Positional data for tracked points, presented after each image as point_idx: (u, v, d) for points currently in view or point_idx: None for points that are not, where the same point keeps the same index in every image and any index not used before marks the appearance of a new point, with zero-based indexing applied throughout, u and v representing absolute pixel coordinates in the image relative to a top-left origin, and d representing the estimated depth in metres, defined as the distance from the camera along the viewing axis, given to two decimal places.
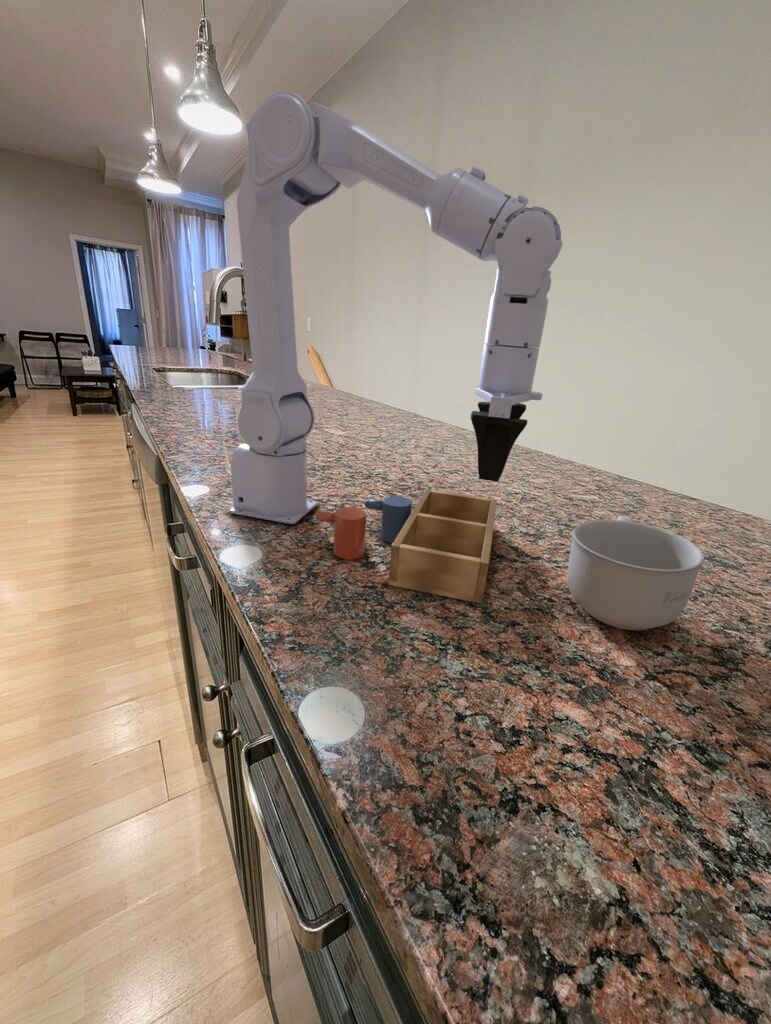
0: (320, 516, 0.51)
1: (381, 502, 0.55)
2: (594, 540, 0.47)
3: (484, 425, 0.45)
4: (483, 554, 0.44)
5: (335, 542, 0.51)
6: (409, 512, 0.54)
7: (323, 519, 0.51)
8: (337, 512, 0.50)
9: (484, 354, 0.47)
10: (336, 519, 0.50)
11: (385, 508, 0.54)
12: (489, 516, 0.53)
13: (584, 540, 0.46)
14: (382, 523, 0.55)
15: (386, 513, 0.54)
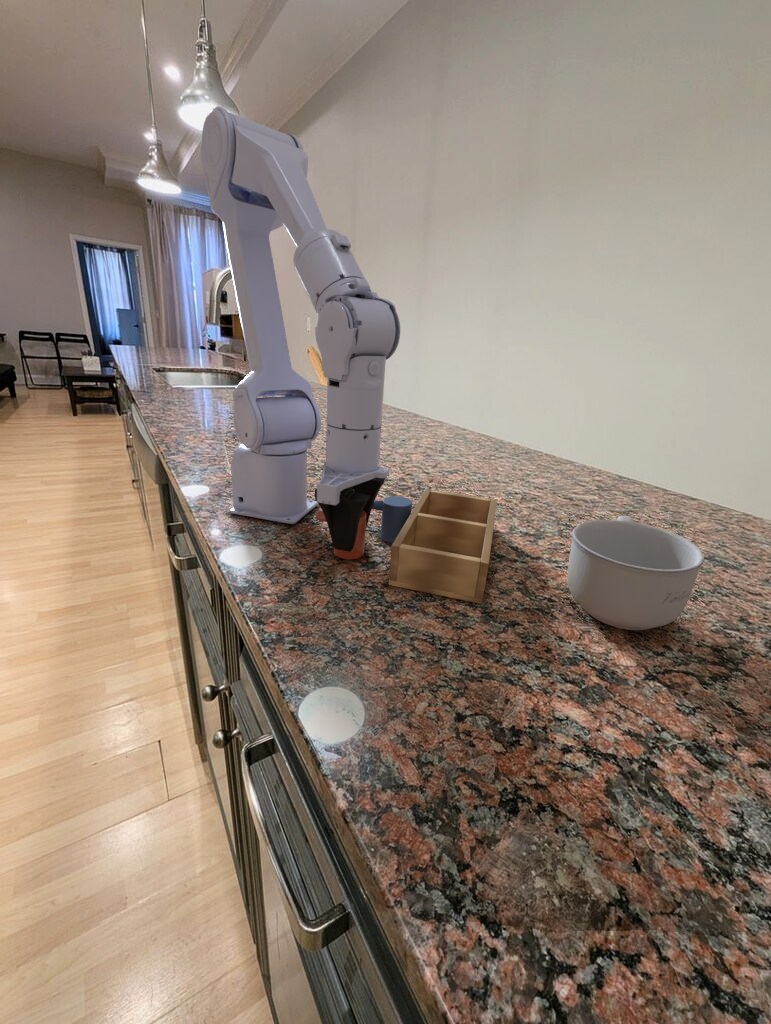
0: (320, 516, 0.51)
1: (381, 502, 0.55)
2: (594, 540, 0.47)
3: None
4: (483, 554, 0.44)
5: None
6: (409, 512, 0.54)
7: (323, 519, 0.51)
8: None
9: (326, 432, 0.46)
10: None
11: (385, 508, 0.54)
12: (489, 516, 0.53)
13: (584, 540, 0.46)
14: (382, 523, 0.55)
15: (386, 513, 0.54)
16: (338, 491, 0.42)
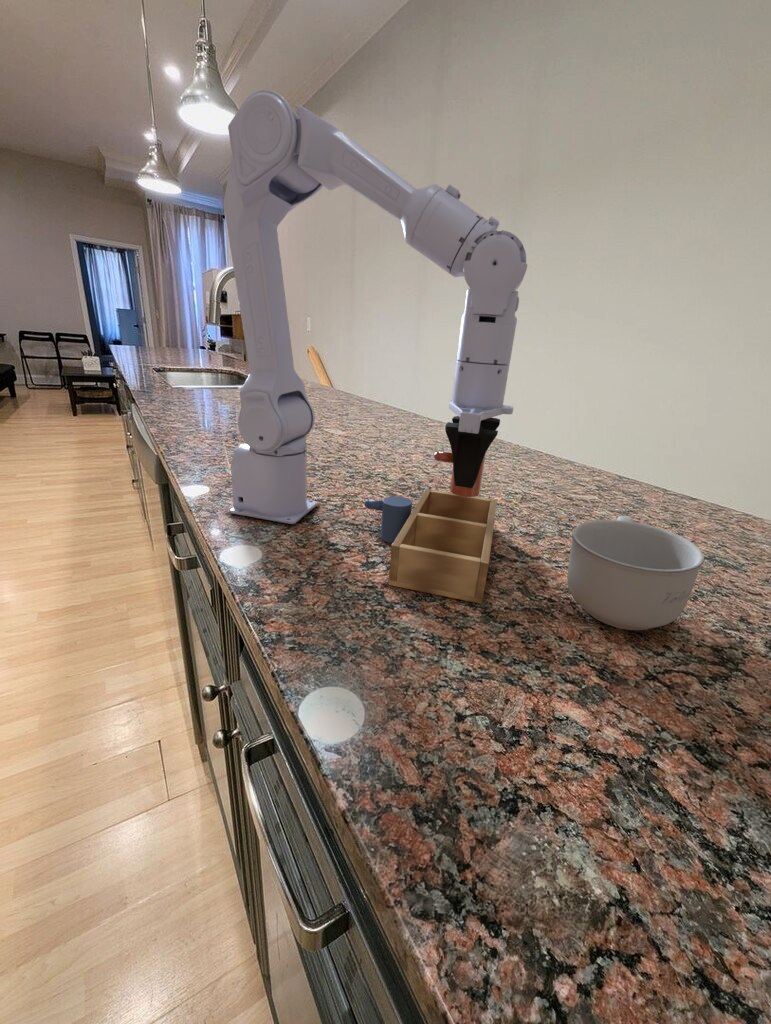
0: (440, 456, 0.53)
1: (381, 502, 0.55)
2: (594, 540, 0.47)
3: (457, 436, 0.48)
4: (483, 554, 0.44)
5: None
6: (409, 512, 0.54)
7: (443, 458, 0.53)
8: None
9: (456, 370, 0.48)
10: None
11: (385, 508, 0.54)
12: (489, 516, 0.53)
13: (584, 540, 0.46)
14: (382, 523, 0.55)
15: (386, 513, 0.54)
16: (480, 420, 0.44)
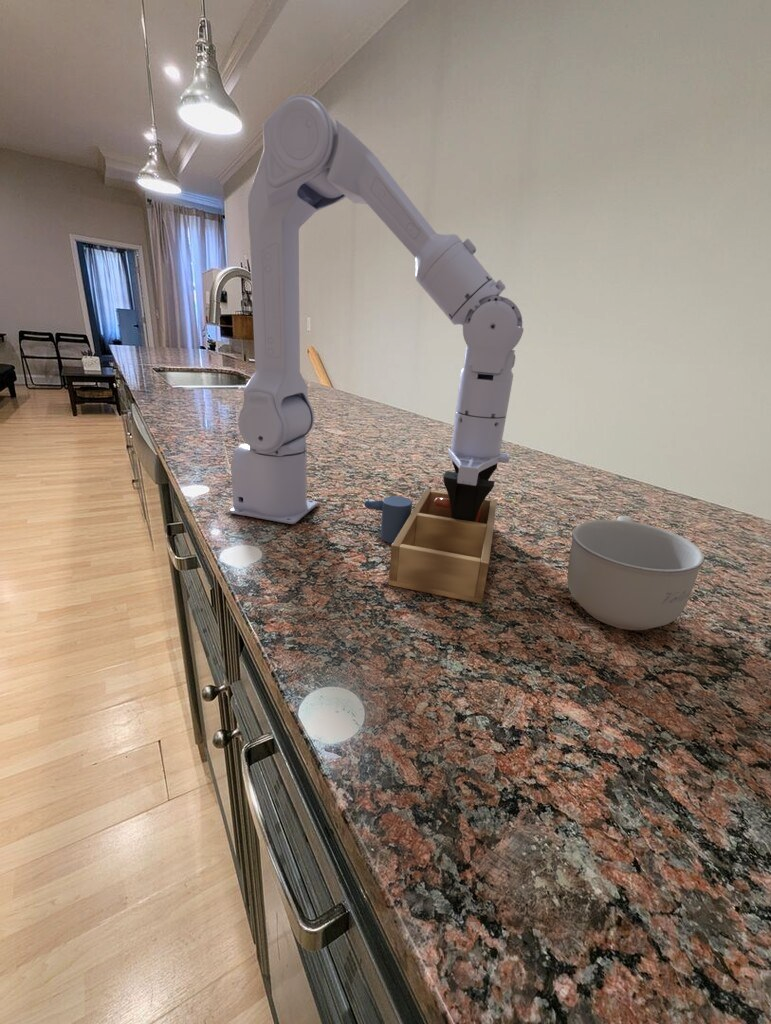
0: (439, 502, 0.55)
1: (381, 502, 0.55)
2: (594, 540, 0.47)
3: (455, 486, 0.49)
4: (483, 554, 0.44)
5: None
6: (409, 512, 0.54)
7: (442, 505, 0.55)
8: None
9: (455, 421, 0.51)
10: None
11: (385, 508, 0.54)
12: (489, 516, 0.53)
13: (584, 540, 0.46)
14: (382, 523, 0.55)
15: (386, 513, 0.54)
16: (478, 473, 0.46)
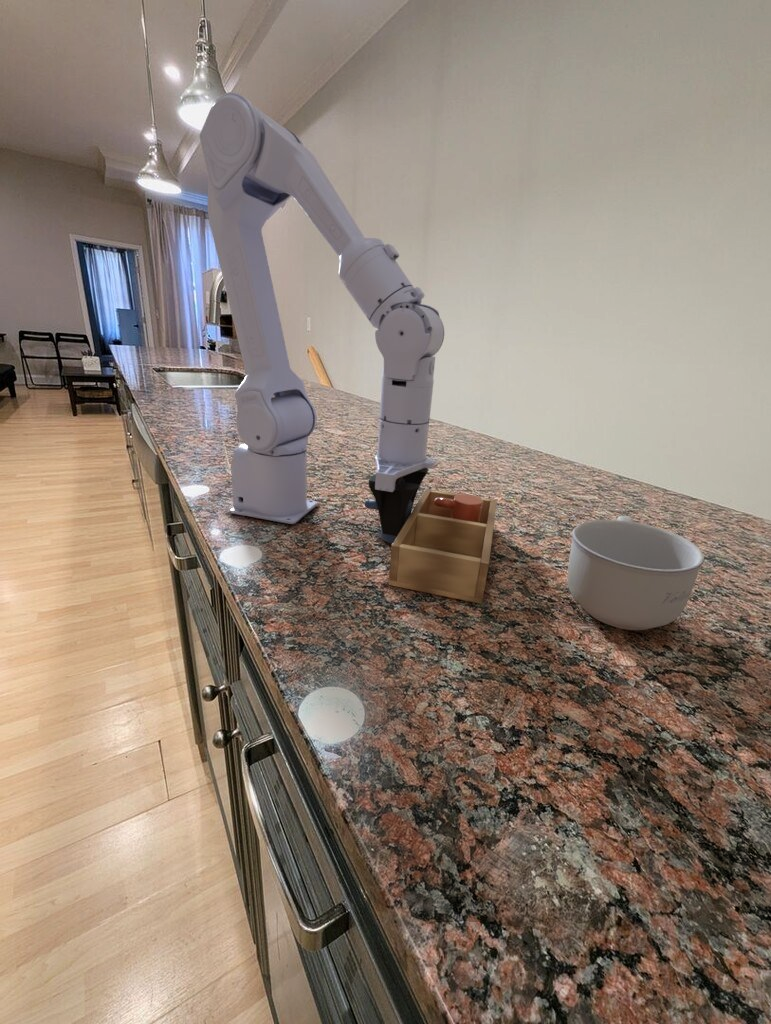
0: (439, 502, 0.55)
1: None
2: (594, 540, 0.47)
3: (379, 490, 0.50)
4: (483, 554, 0.44)
5: None
6: (409, 512, 0.54)
7: (442, 505, 0.55)
8: (457, 498, 0.55)
9: (379, 427, 0.51)
10: (456, 504, 0.54)
11: None
12: (489, 516, 0.53)
13: (584, 540, 0.46)
14: None
15: None
16: (395, 479, 0.47)
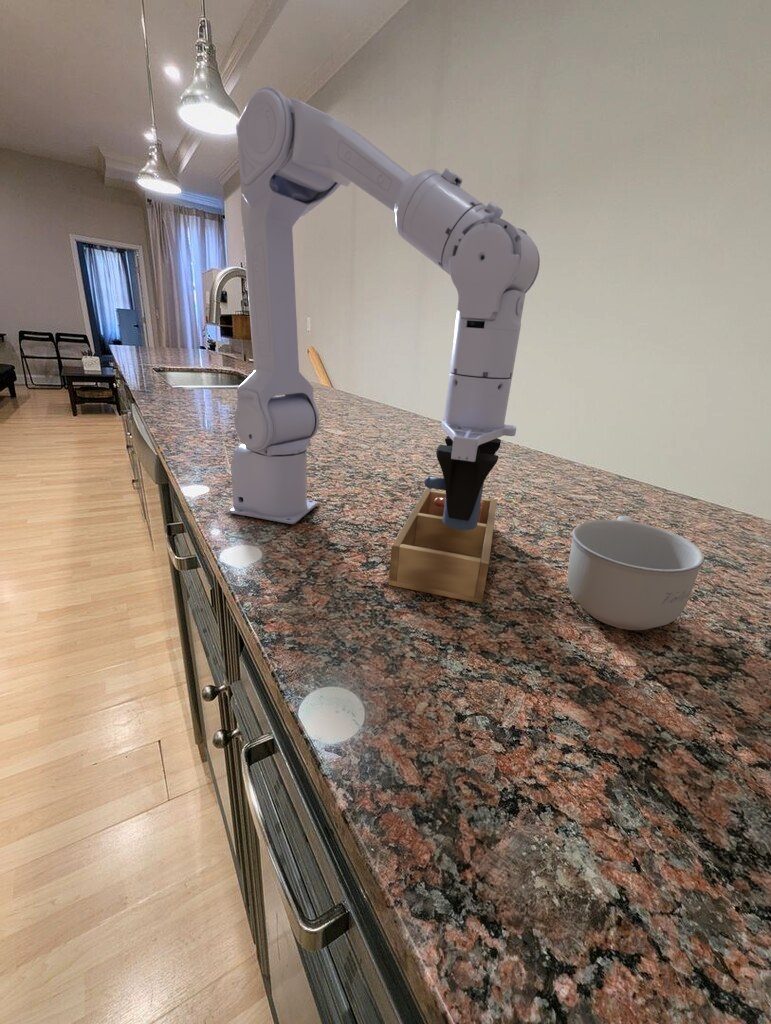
0: (439, 502, 0.55)
1: None
2: (594, 540, 0.47)
3: (450, 462, 0.41)
4: (483, 554, 0.44)
5: None
6: (481, 491, 0.45)
7: (442, 505, 0.55)
8: None
9: (449, 384, 0.41)
10: None
11: None
12: (489, 516, 0.53)
13: (584, 540, 0.46)
14: None
15: None
16: (477, 445, 0.37)
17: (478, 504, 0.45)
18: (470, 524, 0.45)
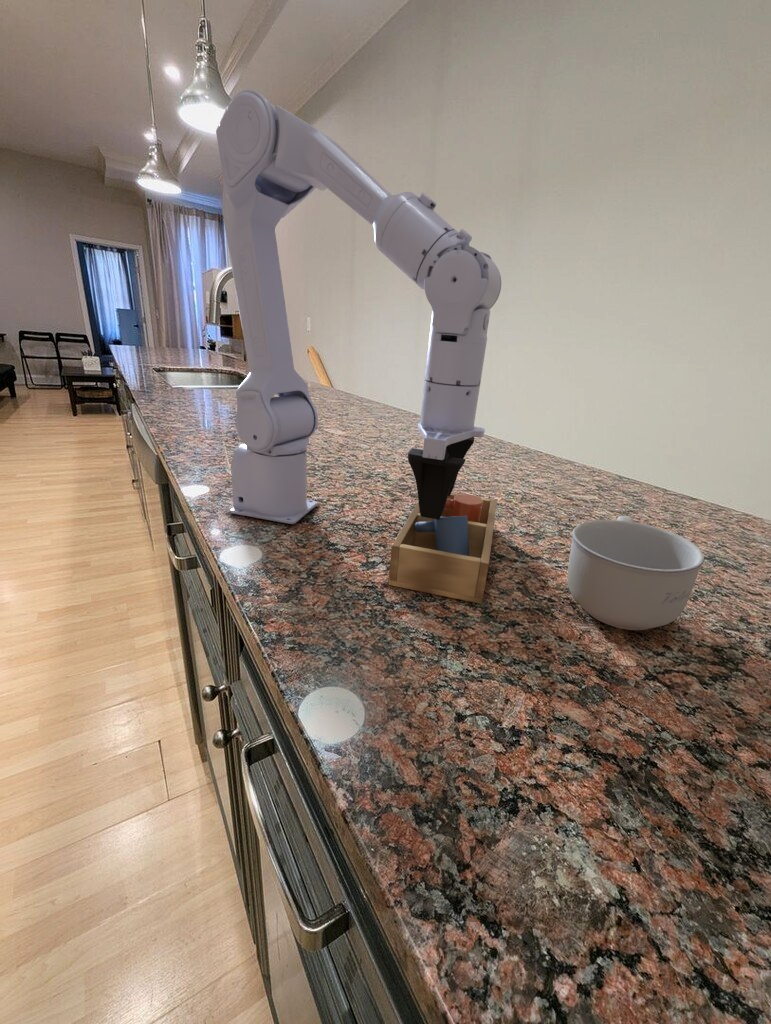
0: None
1: (432, 521, 0.49)
2: (594, 540, 0.47)
3: (421, 464, 0.44)
4: (483, 554, 0.44)
5: None
6: (466, 525, 0.48)
7: None
8: (457, 498, 0.55)
9: (424, 390, 0.46)
10: (456, 504, 0.54)
11: (437, 523, 0.48)
12: (489, 516, 0.53)
13: (584, 540, 0.46)
14: (437, 543, 0.48)
15: (440, 528, 0.48)
16: (445, 446, 0.42)
17: (465, 537, 0.48)
18: None
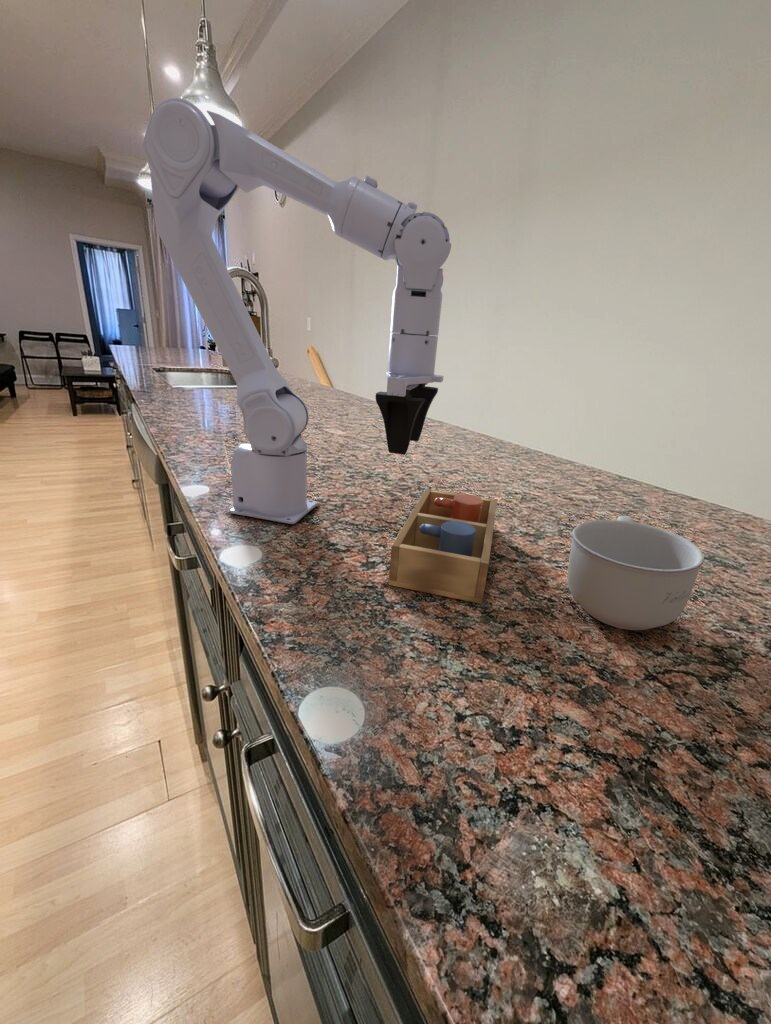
0: (439, 502, 0.55)
1: (439, 528, 0.48)
2: (594, 540, 0.47)
3: (386, 403, 0.51)
4: (483, 554, 0.44)
5: None
6: (472, 542, 0.46)
7: (442, 505, 0.55)
8: (457, 498, 0.55)
9: (390, 341, 0.53)
10: (456, 504, 0.54)
11: (443, 536, 0.47)
12: (489, 516, 0.53)
13: (584, 540, 0.46)
14: None
15: (445, 541, 0.46)
16: (406, 384, 0.49)
17: (469, 553, 0.47)
18: None
